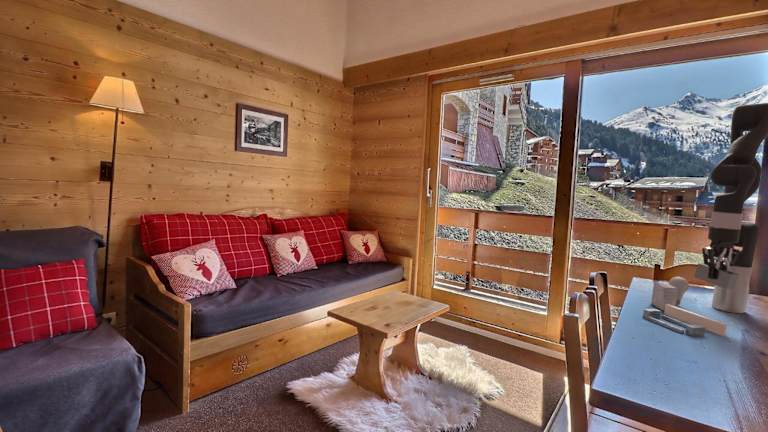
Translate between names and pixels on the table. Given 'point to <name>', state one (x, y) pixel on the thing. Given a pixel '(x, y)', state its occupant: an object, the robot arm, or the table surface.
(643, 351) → the table surface
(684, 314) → the door edge
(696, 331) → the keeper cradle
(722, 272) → the lock bar
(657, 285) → the medicine box
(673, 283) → the lightbulb
